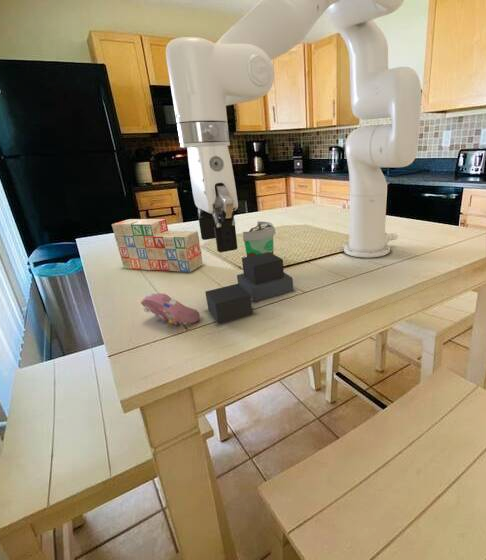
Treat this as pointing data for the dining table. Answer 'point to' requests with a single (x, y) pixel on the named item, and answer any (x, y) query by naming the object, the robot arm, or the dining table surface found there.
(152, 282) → the dining table surface
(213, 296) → the black pad
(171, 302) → the pink toy car
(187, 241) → the stack of blocks
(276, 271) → the charcoal pad
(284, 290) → the base pad
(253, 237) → the food container
